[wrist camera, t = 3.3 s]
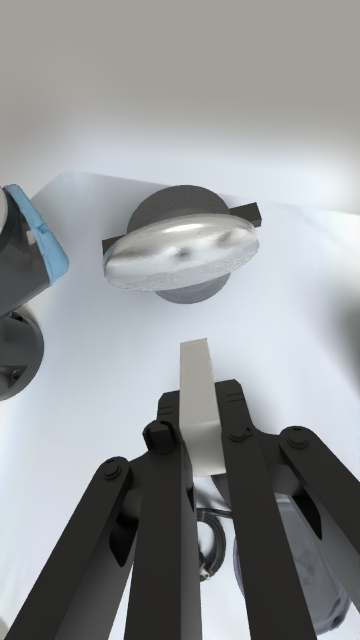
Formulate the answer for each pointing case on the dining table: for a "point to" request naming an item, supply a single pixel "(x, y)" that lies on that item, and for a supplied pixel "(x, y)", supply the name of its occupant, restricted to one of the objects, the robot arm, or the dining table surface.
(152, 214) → the cooker pot
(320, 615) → the milk frother
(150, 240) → the cooker lid
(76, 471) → the dining table surface
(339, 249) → the dining table surface
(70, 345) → the dining table surface
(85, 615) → the robot arm
